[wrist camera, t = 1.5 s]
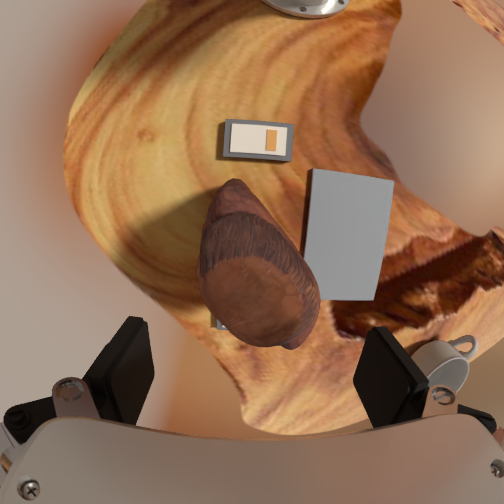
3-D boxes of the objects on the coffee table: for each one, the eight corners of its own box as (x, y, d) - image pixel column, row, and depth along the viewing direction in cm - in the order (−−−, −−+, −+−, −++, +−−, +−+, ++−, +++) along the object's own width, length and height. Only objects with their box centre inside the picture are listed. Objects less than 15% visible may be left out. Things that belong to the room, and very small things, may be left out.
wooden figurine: (195, 207, 29) (129, 259, 12) (242, 171, 28) (236, 171, 11) (259, 287, 32) (272, 405, 15) (305, 256, 31) (364, 353, 14)
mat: (312, 168, 28) (313, 168, 28) (391, 180, 29) (394, 181, 28) (297, 296, 32) (298, 299, 32) (371, 298, 33) (373, 300, 32)
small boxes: (226, 120, 27) (225, 118, 25) (292, 125, 27) (294, 123, 26) (217, 324, 33) (216, 330, 32) (273, 327, 34) (274, 333, 32)
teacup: (404, 390, 39) (422, 420, 31) (386, 361, 36) (407, 394, 29) (462, 343, 37) (485, 367, 29) (452, 306, 34) (481, 330, 26)
